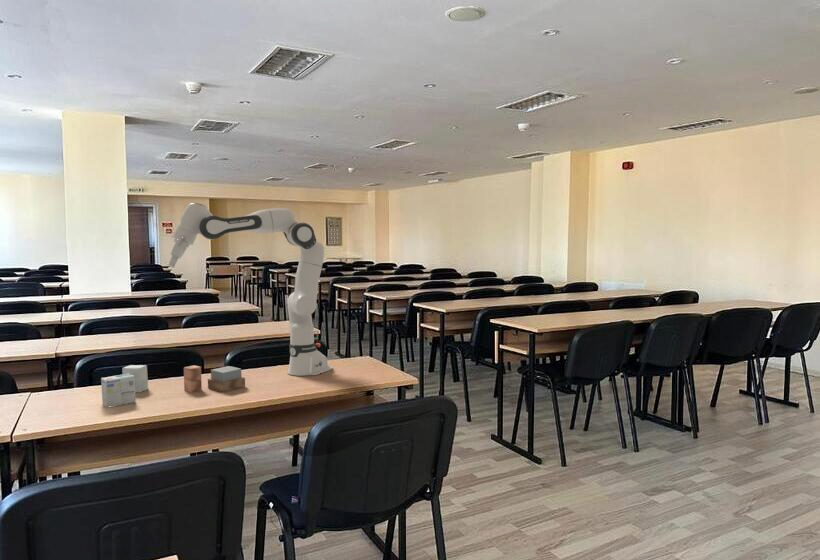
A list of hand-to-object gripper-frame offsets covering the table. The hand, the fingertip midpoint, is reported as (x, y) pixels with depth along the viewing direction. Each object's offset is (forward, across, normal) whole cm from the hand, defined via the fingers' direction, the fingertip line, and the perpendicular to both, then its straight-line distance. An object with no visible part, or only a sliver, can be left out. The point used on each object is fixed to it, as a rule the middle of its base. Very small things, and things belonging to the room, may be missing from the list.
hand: (171, 266), depth 239 cm
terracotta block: (+45, -8, -28) cm, 54 cm away
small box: (+54, +1, -7) cm, 55 cm away
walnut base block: (+40, -9, -41) cm, 58 cm away
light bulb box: (+57, -17, -4) cm, 60 cm away
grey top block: (+36, -9, -39) cm, 54 cm away
